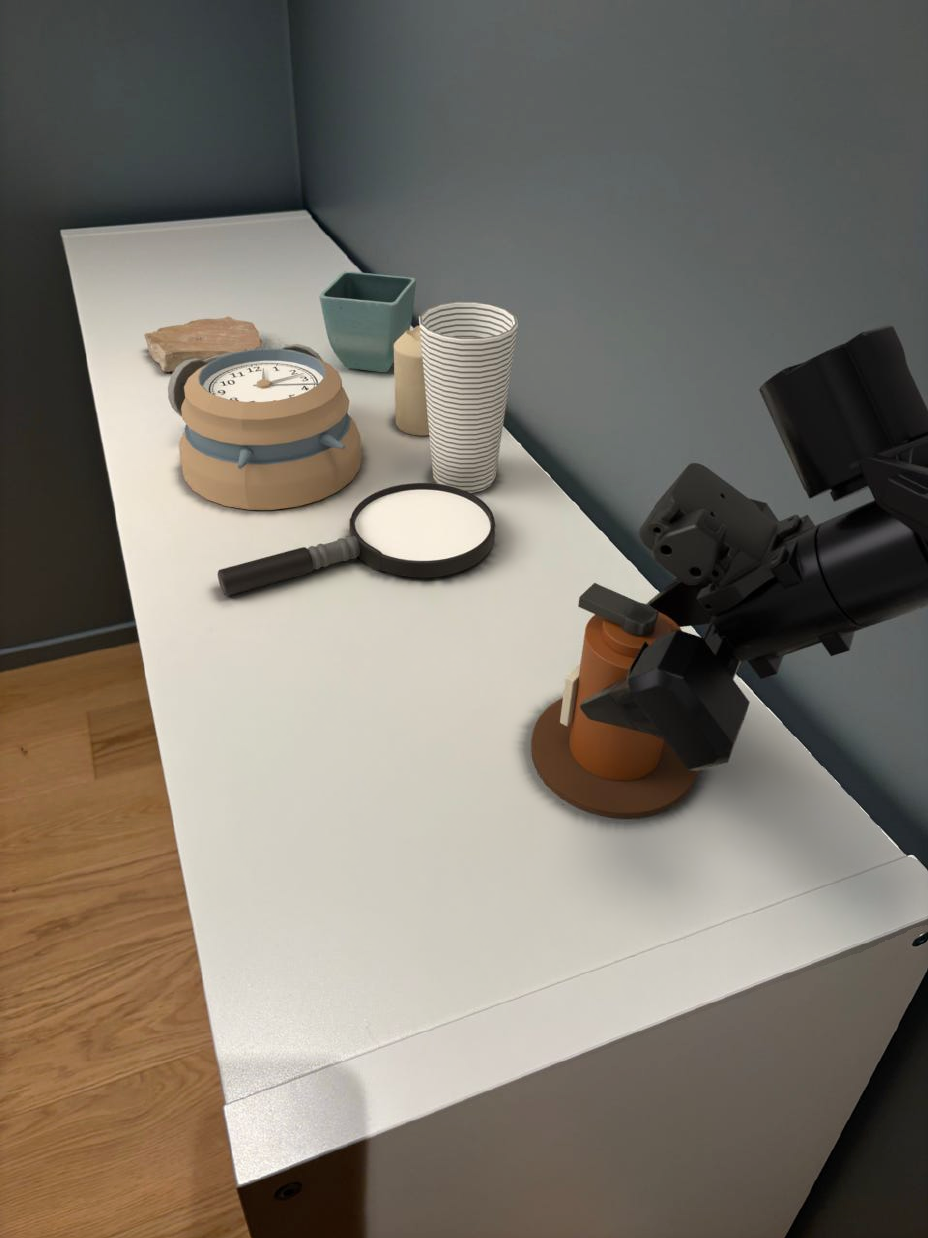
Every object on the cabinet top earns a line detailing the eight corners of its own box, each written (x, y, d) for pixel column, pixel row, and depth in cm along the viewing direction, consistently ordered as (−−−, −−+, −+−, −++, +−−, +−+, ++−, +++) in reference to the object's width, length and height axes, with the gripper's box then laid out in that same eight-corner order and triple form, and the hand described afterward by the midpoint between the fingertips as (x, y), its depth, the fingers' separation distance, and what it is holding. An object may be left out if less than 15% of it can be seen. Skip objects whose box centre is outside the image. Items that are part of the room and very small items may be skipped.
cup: (519, 495, 86) (531, 334, 76) (430, 506, 84) (431, 343, 74) (493, 451, 92) (501, 297, 82) (410, 460, 90) (408, 304, 81)
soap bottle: (676, 740, 62) (709, 607, 54) (632, 796, 58) (661, 661, 51) (591, 697, 64) (611, 566, 57) (544, 747, 61) (560, 613, 53)
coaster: (725, 742, 62) (726, 736, 62) (647, 848, 55) (649, 842, 55) (585, 673, 67) (586, 667, 67) (498, 763, 60) (499, 756, 60)
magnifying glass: (200, 553, 78) (196, 532, 76) (452, 487, 87) (452, 467, 85) (248, 639, 69) (244, 617, 68) (521, 556, 78) (522, 535, 77)
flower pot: (347, 344, 112) (343, 269, 106) (417, 352, 111) (417, 276, 105) (323, 373, 105) (317, 295, 100) (397, 383, 104) (396, 304, 98)
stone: (255, 331, 114) (252, 311, 112) (267, 372, 105) (264, 351, 104) (147, 342, 111) (142, 321, 109) (149, 384, 102) (145, 362, 101)
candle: (397, 437, 94) (395, 342, 88) (393, 412, 98) (391, 320, 92) (451, 435, 95) (452, 341, 88) (445, 410, 99) (446, 319, 93)
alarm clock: (186, 432, 75) (140, 328, 91) (203, 527, 81) (157, 413, 97) (383, 398, 80) (307, 305, 96) (386, 489, 86) (314, 388, 102)
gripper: (798, 373, 51) (589, 492, 62) (707, 541, 38) (463, 654, 49) (900, 530, 54) (682, 618, 64) (848, 739, 41) (585, 805, 51)
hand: (611, 664), depth 57 cm, fingers open, 9 cm apart
